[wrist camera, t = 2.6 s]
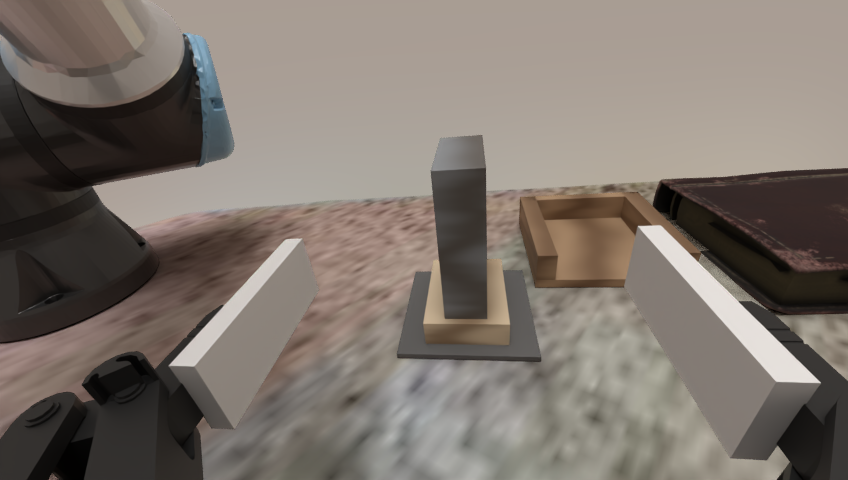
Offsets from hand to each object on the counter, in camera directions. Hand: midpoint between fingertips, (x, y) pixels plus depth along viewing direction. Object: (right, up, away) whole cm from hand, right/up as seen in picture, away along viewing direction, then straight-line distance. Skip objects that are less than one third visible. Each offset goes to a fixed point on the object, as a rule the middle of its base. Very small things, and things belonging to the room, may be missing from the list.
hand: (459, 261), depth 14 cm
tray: (+15, 0, +20) cm, 25 cm away
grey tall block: (+2, -5, +14) cm, 15 cm away
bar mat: (+2, -5, +14) cm, 16 cm away
